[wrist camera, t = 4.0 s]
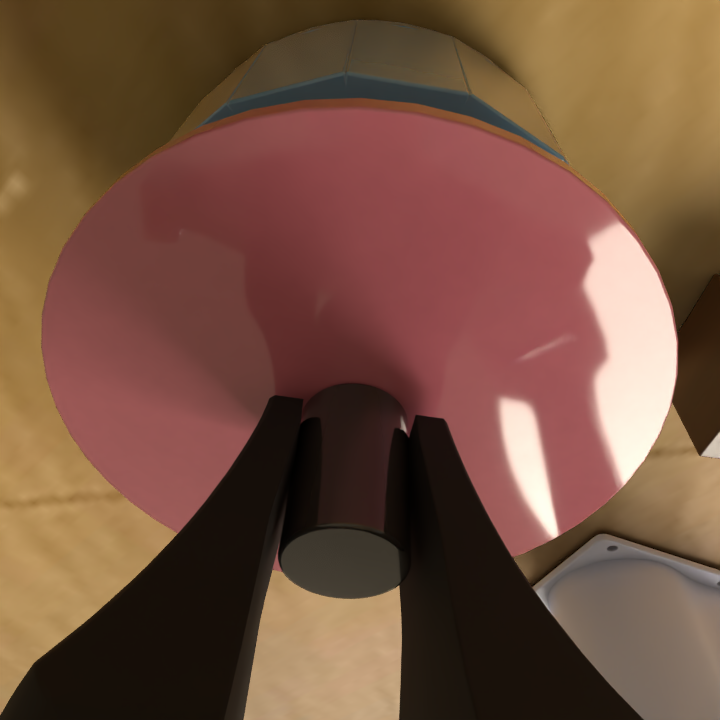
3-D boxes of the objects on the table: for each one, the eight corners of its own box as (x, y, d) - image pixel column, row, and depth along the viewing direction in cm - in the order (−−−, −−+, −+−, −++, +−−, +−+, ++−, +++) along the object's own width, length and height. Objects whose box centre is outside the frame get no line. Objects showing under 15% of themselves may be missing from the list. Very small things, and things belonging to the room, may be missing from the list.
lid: (802, 157, 10) (1017, 315, 7) (537, 573, 19) (571, 740, 16) (-4, 18, 10) (-243, 116, 6) (103, 519, 18) (31, 682, 15)
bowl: (631, 63, 16) (714, 134, 12) (496, 394, 24) (518, 506, 20) (165, -20, 16) (82, 26, 11) (184, 350, 24) (139, 458, 20)
